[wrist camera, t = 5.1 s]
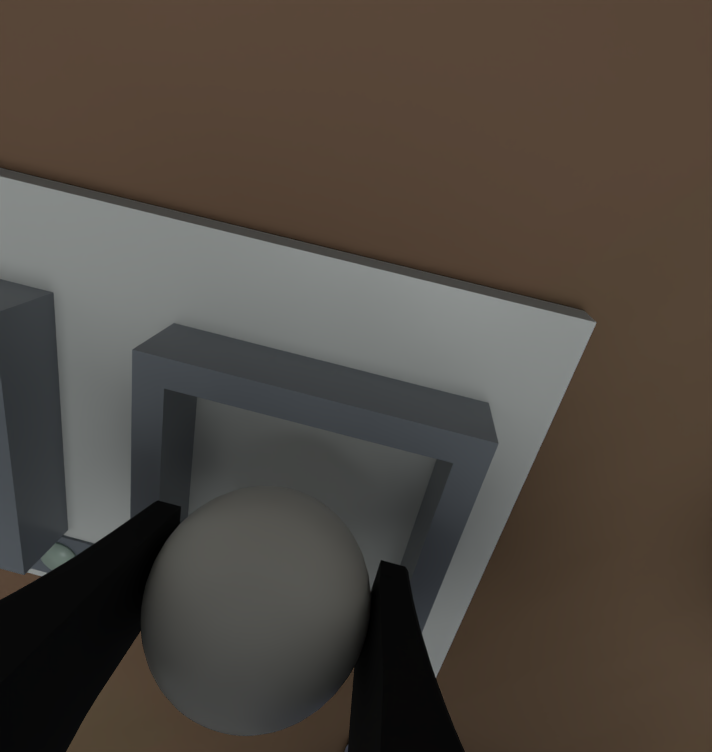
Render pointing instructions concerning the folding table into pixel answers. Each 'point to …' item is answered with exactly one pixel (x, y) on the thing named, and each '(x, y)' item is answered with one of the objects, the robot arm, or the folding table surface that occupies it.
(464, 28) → the folding table surface
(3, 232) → the ball sorting tray
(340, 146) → the folding table surface
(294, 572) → the ivory ball
